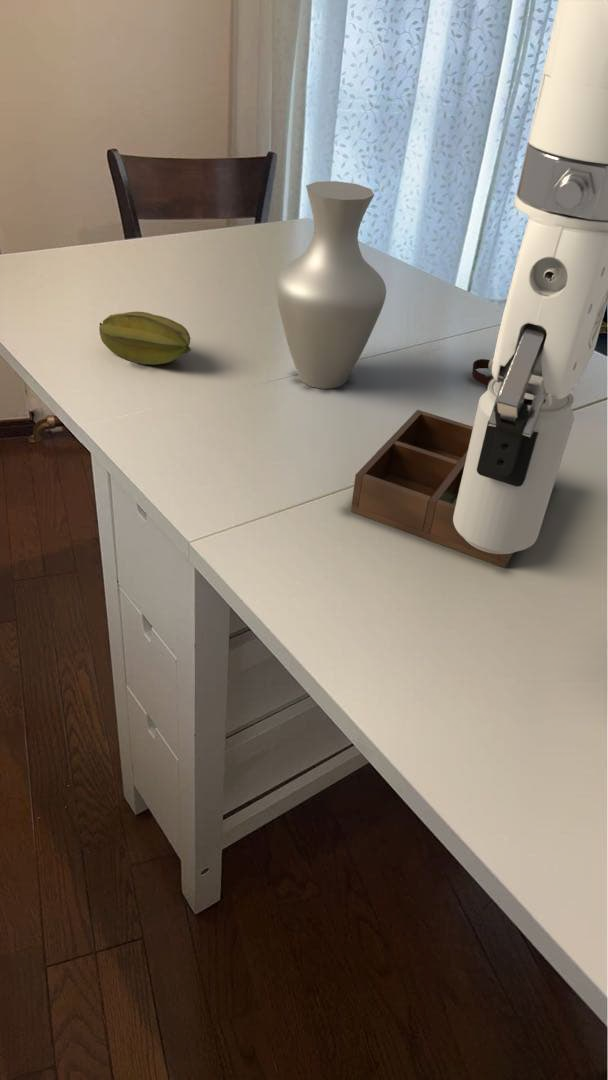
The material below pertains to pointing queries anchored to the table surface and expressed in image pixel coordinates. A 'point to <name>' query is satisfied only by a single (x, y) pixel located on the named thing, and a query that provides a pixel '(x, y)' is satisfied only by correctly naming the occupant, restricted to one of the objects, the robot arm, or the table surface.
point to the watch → (479, 376)
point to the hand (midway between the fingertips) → (514, 453)
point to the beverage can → (502, 509)
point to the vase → (330, 289)
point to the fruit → (144, 337)
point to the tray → (420, 482)
